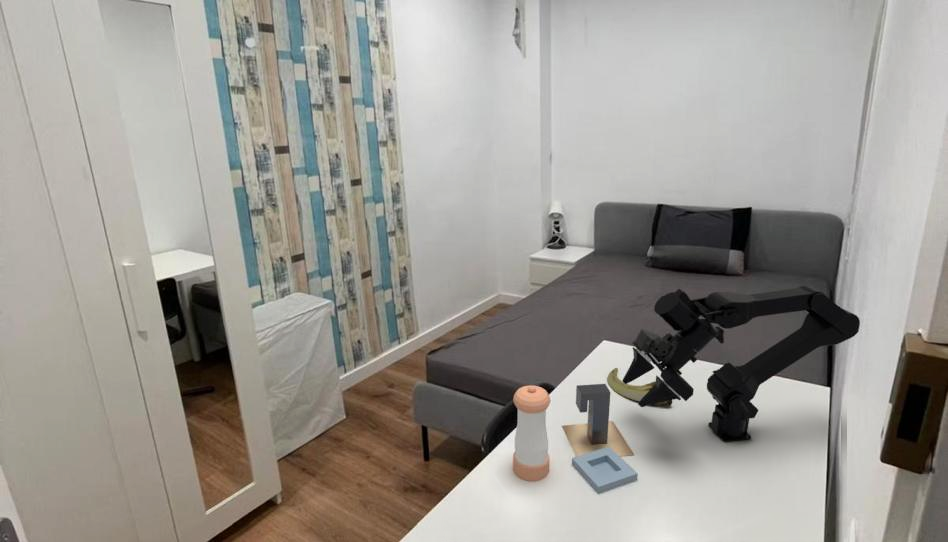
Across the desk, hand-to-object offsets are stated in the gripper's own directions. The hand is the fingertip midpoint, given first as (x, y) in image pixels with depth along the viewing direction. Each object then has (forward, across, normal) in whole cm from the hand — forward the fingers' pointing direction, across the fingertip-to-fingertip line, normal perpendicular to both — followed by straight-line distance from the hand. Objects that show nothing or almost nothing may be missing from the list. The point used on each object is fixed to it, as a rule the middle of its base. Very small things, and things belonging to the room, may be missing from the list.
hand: (631, 393), depth 108 cm
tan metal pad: (+13, 0, +3) cm, 13 cm away
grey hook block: (+14, 0, +2) cm, 14 cm away
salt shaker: (+24, +8, -8) cm, 27 cm away
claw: (+2, -20, +15) cm, 25 cm away
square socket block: (+14, +10, +2) cm, 18 cm away
